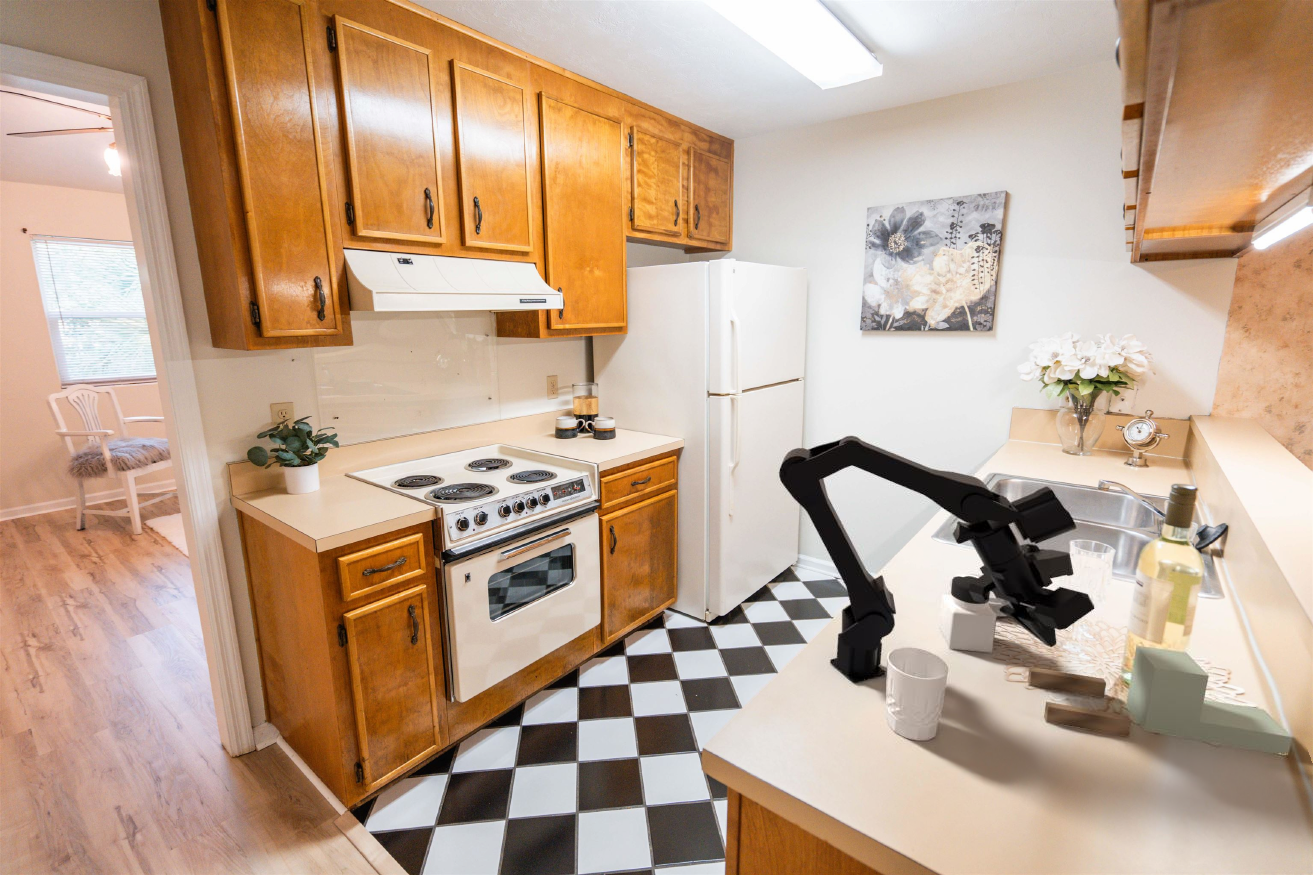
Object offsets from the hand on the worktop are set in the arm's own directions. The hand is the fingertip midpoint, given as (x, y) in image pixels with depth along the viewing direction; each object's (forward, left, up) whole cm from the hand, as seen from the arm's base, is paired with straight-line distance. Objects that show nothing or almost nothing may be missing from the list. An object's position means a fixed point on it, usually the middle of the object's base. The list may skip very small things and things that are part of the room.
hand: (1052, 644), depth 89 cm
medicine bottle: (+3, +17, -9) cm, 20 cm away
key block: (+14, -13, -9) cm, 22 cm away
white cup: (-23, +3, -9) cm, 25 cm away
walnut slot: (+2, -3, -9) cm, 10 cm away
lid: (+18, +26, -10) cm, 33 cm away
